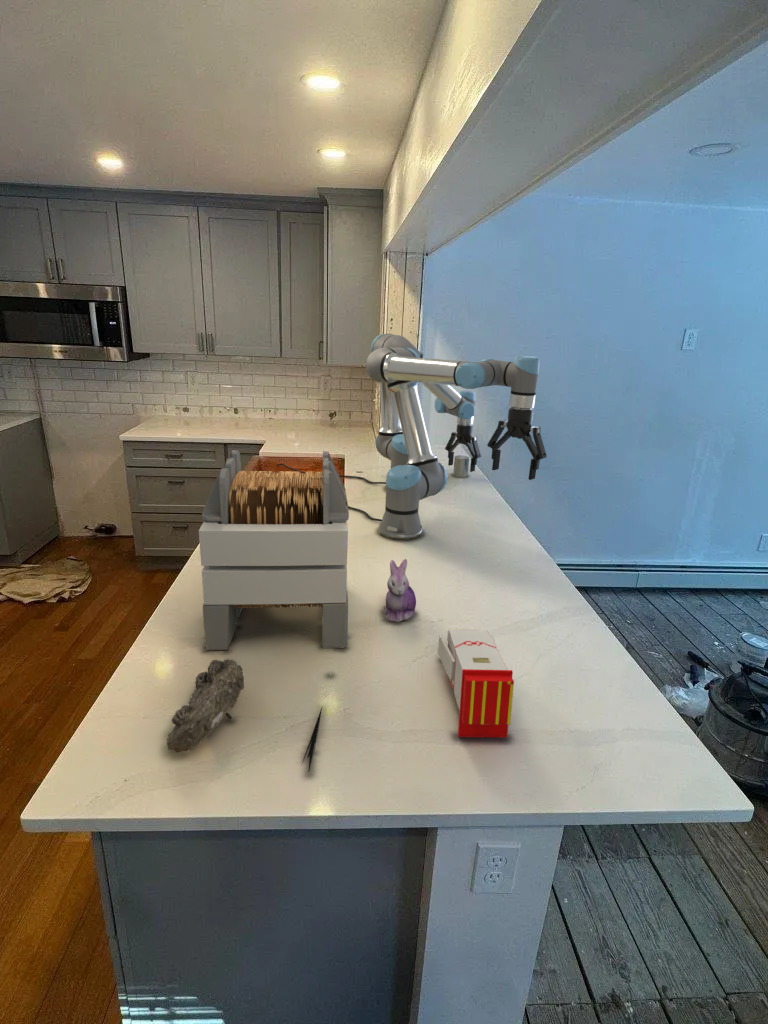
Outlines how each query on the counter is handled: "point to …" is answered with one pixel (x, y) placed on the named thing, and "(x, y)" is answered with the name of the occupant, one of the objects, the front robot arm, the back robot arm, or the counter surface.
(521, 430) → the front robot arm
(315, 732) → the feather
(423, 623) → the counter surface
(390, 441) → the back robot arm
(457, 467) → the can
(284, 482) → the record crate
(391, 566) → the figurine
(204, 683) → the fossil
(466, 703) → the toy
